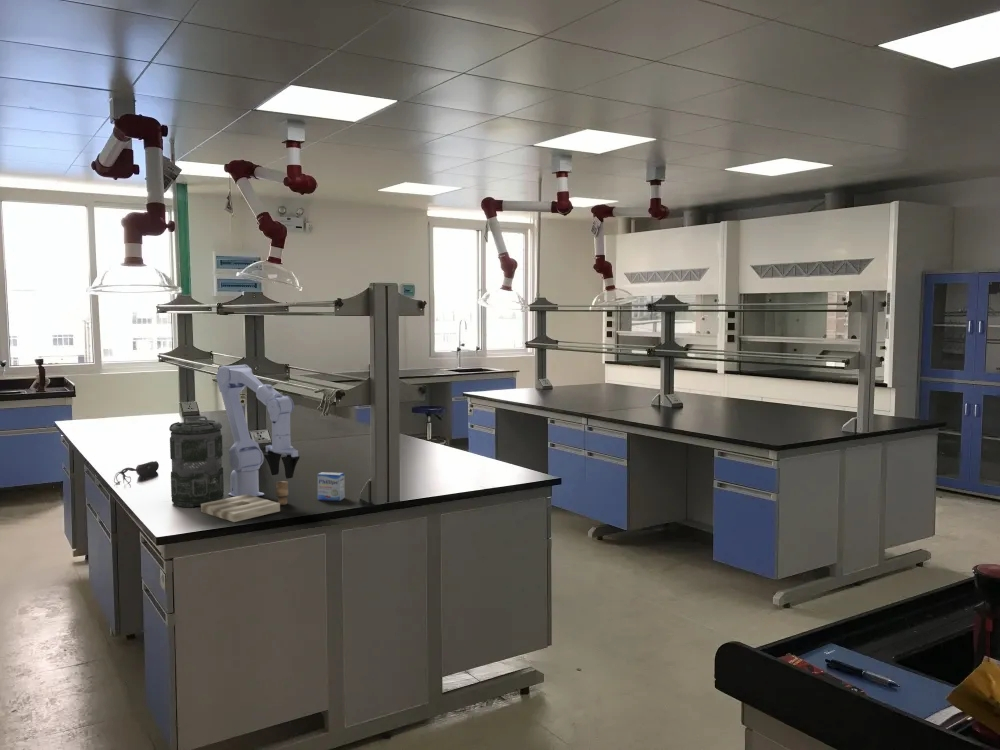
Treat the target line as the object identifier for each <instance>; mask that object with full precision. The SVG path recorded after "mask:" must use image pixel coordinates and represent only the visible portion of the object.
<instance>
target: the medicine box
mask: <svg viewBox="0 0 1000 750" xmlns="http://www.w3.org/2000/svg"><path fill="white" fill-rule="evenodd" d="M345 495H346V494H345V472H333V471H332V472H328V471H321V472H319V473H317V500H318V501H336V502H340V501H342V500H343V499H345V497H346V496H345Z"/></svg>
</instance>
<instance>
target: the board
mask: <svg viewBox="0 0 1000 750" xmlns="http://www.w3.org/2000/svg"><path fill="white" fill-rule="evenodd" d="M200 512H201V513H204V514H206V515H209V516H213V517H217V518H219V519H222V520H227V521H230V522H232V523H235V522H240V521H245V520H248V519H249V520H250V519H252V518H257V517H261V516H264V515H269V514H275V513H278V512H281V505H280V503H278V501H277V502H276V501H272V500H269V499H266V498H262V497H260V496H256V497H255V496H251V495H247V494H245V495H240V496H236V497H235V496H232V497H227V498H223V499H221V500H217V501H212V502H207V503H203V504H201V506H200Z"/></svg>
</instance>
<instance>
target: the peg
mask: <svg viewBox="0 0 1000 750" xmlns="http://www.w3.org/2000/svg"><path fill="white" fill-rule="evenodd" d="M276 497H277V503H280V506H283V505H284V506H285V505H287V504H288V497H289V481H285V480H282V481H276Z"/></svg>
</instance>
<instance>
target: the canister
mask: <svg viewBox="0 0 1000 750" xmlns="http://www.w3.org/2000/svg"><path fill="white" fill-rule="evenodd" d="M187 419H198V421H197V420H196V421H195V420H194V421H193V420H192V421H187ZM222 427H223V425H222V423H221V422H219V421H218V422H217V421H215V420H213V419H212V420H208V417H207V416H205V415H204V416H203V415H202V416H201V415H200V416H199V415H198V416H197V415H196V416H194V415H192V416H191V415H187V416H184V418H183V421H182V422H179V421H176V422H174V423H172V424H170V426H169V432H170V437H169V457H170V458H169V459H170V460H171V471H170V491H171V492H170V493H171V495H170V496H171V502H172V504H174V505H177V506H178V507H181V508H195V507H198V506H199V507H201V504H203V503H207V502H212V501H217V500H221V499H225V495H224V492H225V491H224V488H225V487H224V467H222V465H223V463H222V461H223V460H222V457H223V435H222V432H221V429H223V428H222Z"/></svg>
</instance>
